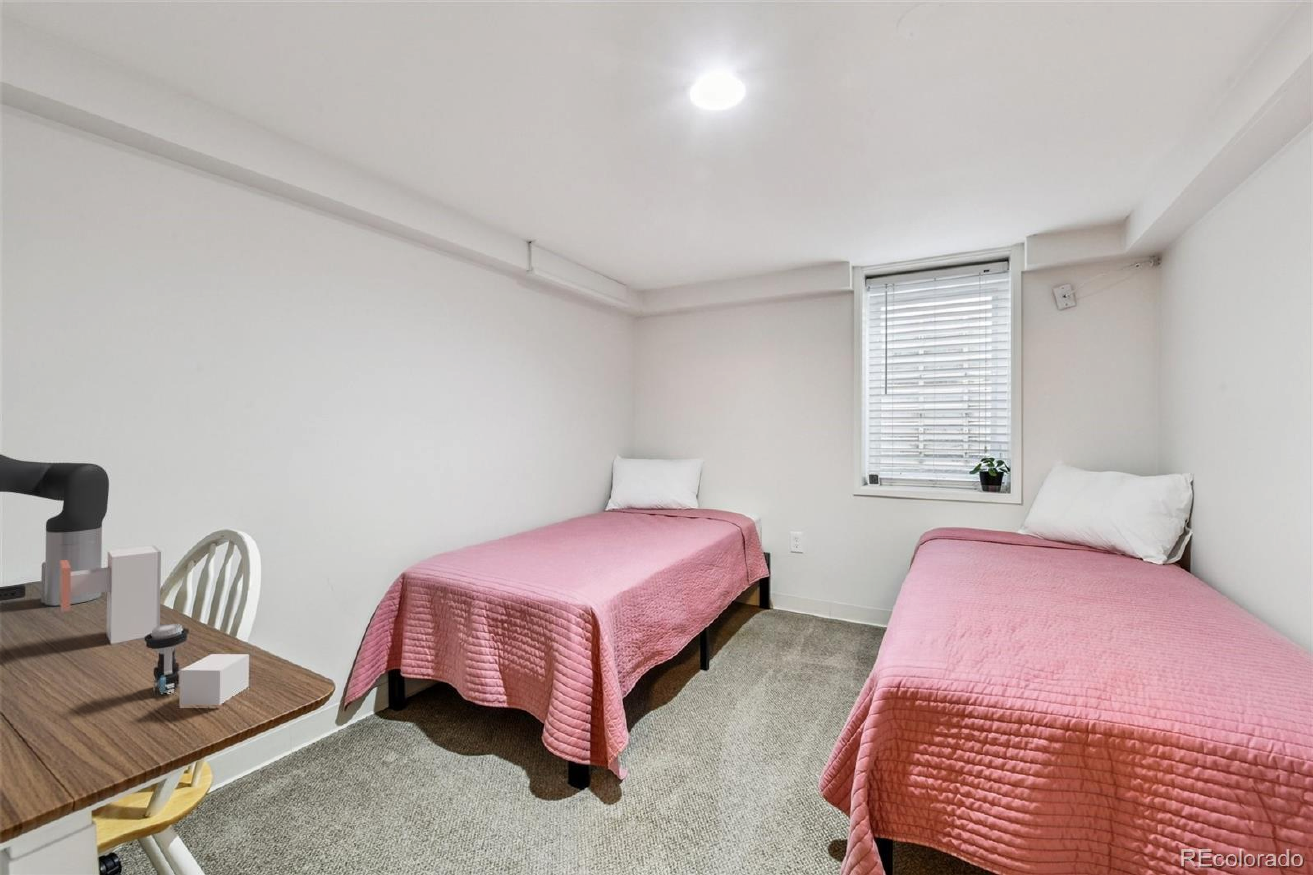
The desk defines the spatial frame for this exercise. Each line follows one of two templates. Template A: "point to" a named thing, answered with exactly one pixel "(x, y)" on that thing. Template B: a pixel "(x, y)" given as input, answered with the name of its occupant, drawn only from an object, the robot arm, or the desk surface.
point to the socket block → (133, 593)
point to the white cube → (214, 679)
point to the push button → (166, 654)
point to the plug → (81, 583)
